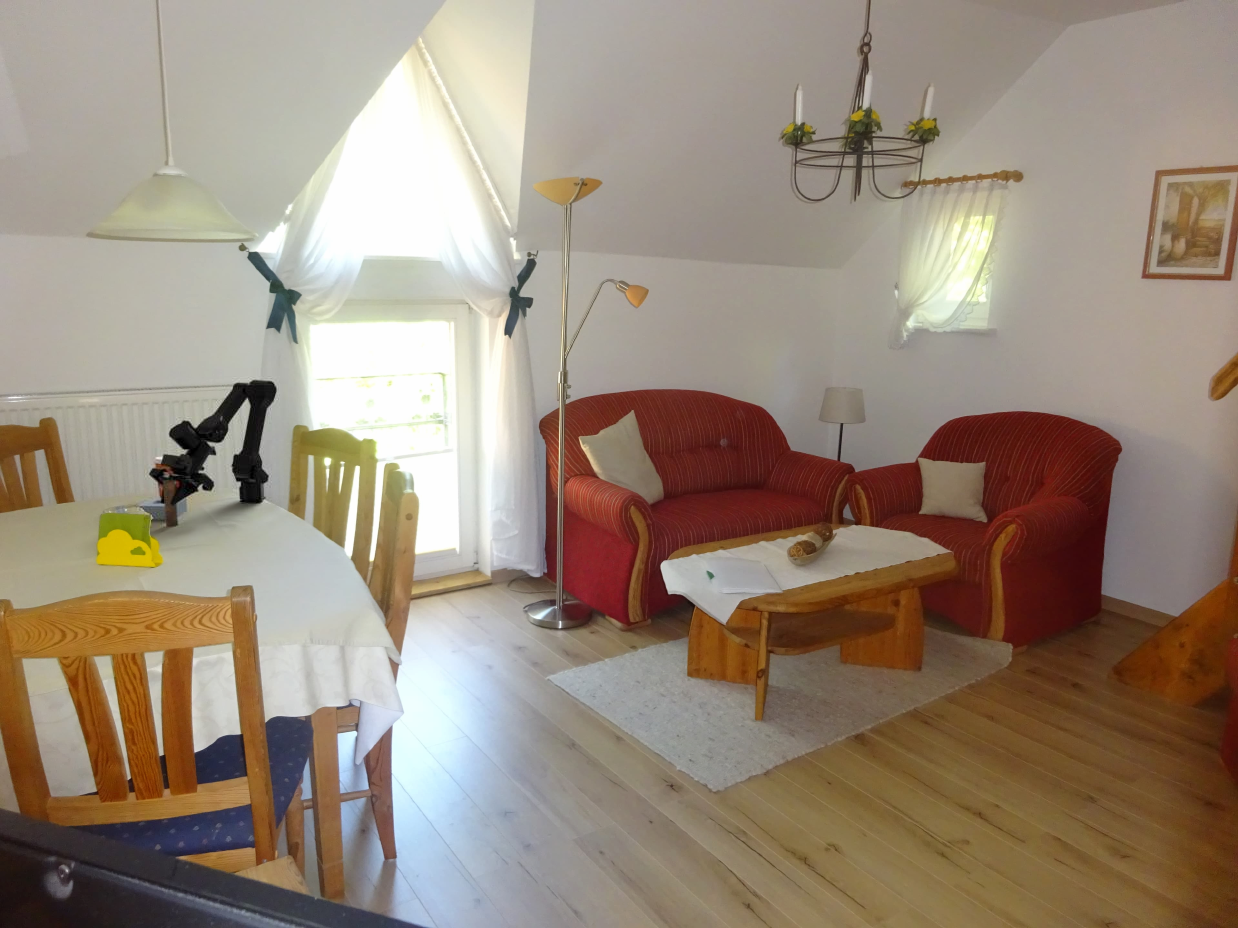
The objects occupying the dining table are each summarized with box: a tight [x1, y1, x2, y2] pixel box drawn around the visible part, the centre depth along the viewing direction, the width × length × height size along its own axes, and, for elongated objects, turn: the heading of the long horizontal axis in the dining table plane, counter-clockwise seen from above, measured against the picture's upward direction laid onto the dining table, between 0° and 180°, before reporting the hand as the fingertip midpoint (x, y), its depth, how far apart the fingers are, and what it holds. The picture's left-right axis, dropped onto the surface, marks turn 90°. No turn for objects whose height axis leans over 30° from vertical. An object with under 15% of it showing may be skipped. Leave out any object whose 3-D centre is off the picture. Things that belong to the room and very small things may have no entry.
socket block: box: [136, 497, 188, 520], centre depth 251 cm, size 10×10×4 cm
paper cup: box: [153, 455, 179, 498], centre depth 267 cm, size 8×8×14 cm
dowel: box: [163, 480, 179, 527], centre depth 240 cm, size 3×3×13 cm
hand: (166, 503), depth 239 cm, fingers open, 3 cm apart
